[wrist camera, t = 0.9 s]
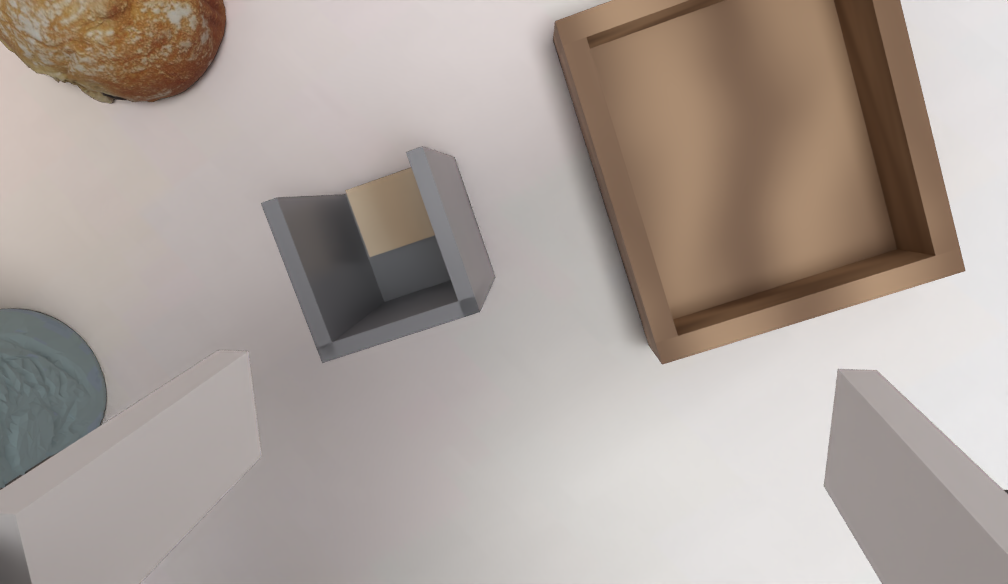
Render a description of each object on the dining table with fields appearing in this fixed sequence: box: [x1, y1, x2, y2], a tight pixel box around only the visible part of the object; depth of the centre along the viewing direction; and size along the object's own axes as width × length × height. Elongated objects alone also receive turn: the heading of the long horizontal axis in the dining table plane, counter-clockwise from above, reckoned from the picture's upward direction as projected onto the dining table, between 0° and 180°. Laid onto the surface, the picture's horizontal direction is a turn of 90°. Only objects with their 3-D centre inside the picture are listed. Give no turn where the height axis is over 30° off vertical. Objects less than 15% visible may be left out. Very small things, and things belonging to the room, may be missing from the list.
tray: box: [553, 0, 965, 364], centre depth 29 cm, size 13×15×4 cm
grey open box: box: [261, 146, 495, 363], centre depth 28 cm, size 6×6×9 cm
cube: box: [345, 168, 435, 257], centre depth 30 cm, size 3×3×3 cm
